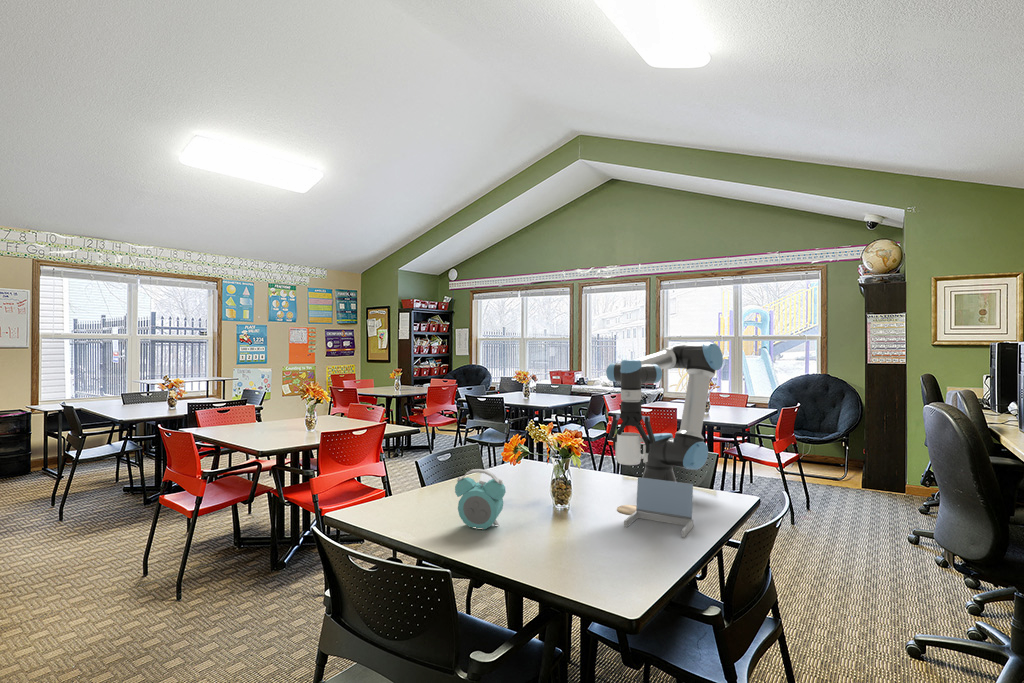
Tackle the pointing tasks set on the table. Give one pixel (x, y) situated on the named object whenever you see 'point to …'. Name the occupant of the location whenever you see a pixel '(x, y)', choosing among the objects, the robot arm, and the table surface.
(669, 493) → the cover
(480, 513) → the alarm clock
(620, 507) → the coaster
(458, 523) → the table surface
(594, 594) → the table surface
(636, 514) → the bracket
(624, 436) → the mug
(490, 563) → the table surface
